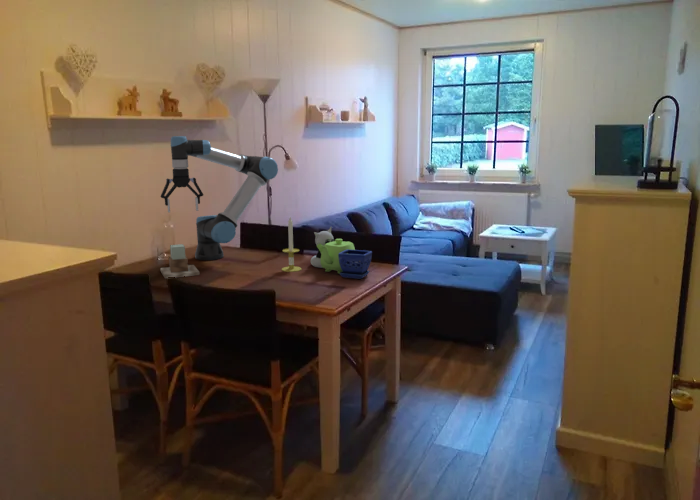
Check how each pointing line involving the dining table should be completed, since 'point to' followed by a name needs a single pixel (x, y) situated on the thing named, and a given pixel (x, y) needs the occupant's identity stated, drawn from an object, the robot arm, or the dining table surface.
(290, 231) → the candle
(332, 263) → the teapot
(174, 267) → the walnut block
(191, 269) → the build board
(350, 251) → the flower pot
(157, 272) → the dining table surface
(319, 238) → the decorative figurine
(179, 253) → the sage cube
